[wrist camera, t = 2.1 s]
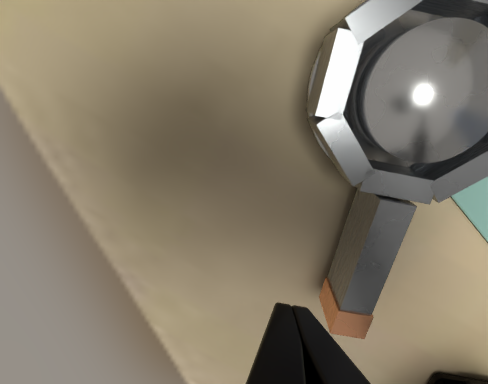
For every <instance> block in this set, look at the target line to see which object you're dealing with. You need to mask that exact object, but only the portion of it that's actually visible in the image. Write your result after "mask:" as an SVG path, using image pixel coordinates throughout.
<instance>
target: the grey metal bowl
mask: <svg viewBox="0 0 488 384" xmlns="http://www.w3.org/2000/svg"><path fill="white" fill-rule="evenodd" d="M368 1H369V0H367V1H365V2H363V3H362V4H360V5H359V6H358V7H356V8H355V9H354V10H353V11H351V12H350V13H349V14H348V15H347V16H349V15H350V14H351V13H353V12H354V11H356V10H357V9H358V8H360V7H361V6H363V5H364V4H365V3H367V2H368ZM347 16H345V17H344V18H346V17H347ZM344 18H343V19H344ZM343 19H342V20H343ZM321 48H322V47H321ZM320 52H321V49H320V50H319V53H318V55H317V57H316V59H315V62H314V64H313V68H312V71H311V74H310V78H309V84H308V92H307V104H308V100H309V96H310V92H311V88H312V84H313V80H314V76H315V72H316V68H317V64H318V60H319V56H320ZM312 115H313V114H311V113H309V112H308V116H309V117H310V116H312ZM343 116H344V118H345V120H346V122H347V123H348V125H349V127H350V129H351V131H352V132H353V134H354V136H355V138H356V139H357V141H358V143H359V145H360V147H361V148H362V150H363V152H364V154H365V156H366V157H367V159H370V160H375V161H380V162H385V163H390V164H395V165H401V166H406V167H409V166H411V165H412V164H414V163H433V162H439V161H443V160H446V159H449V158H452V157H454V156H456V155H458V154H460V153H462V152H464V151H466V150H467V149H469V148H470V147H472V146H473V145H474V144H476V143H477V142H478V141H479V140H480V139H481V138H482V137H483V136H484V135H485V134H486V133H487V132H488V28H487V27H486V26H484V25H482V24H480V23H478V22H476V21H473V20H470V19H465V18H458V17H455V18H448V17H443V16H439V15H434V14H429V13H425V12H420V11H415V10H411V9H410V10H408V11H407V12H405V13H404V14H402V15H401V16H399V17H398V18H397V19H395V20H394V21H392V22H391V23H389V24H388V25H386V26H385V27H384V28H382V29H381V30H379V31H378V32H376V33H375V34H373V35H372V36H371V37H369V38H368V39H366V40H365V41H364V43H363V47H362V50H361V54H360V57H359V61H358V64H357V67H356V71H355V74H354V78H353V81H352V84H351V88H350V91H349V95H348V98H347V101H346V105H345V108H344V112H343ZM311 128H312V126H311ZM312 131H313V134H314V136H315V138H316V140H317V142H318V144H319V146H320V147H321V148H322V150H323V151H324V153H325V154H326V155H327V156H328V157H329V158H330V156H329V155H328V153H327V151H326V150H325V148H324V146H323V145H322V143H321V141H320V140H319V138H318V136H317V135H316V133H315V131H314V130H313V128H312ZM330 159H331V158H330Z"/></svg>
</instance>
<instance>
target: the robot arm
mask: <svg viewBox="0 0 488 384" xmlns="http://www.w3.org/2000/svg"><path fill="white" fill-rule="evenodd" d="M246 384H371V383H370V382H369V381H368V380H367V379H366V377H365V376H364V375H363V374H362V373H361V371H360V370H359V369H358V368H357V367H356V365H355V364H354V363H353V362H352V361H351V359H350V358H349V357H348V356H347V355H346V353H345V352H344V351H343V350H342V349H341V347H340V346H339V345H338V344H337V343H336V341H335V340H334V339H333V338H332V337H331V336H330V334H329V333H328V332H327V331H326V330H325V328H324V327H323V326H322V325H321V324H320V322H319V321H318V320H317V319H316V318H315V316H314V315H313V314H312V313H311V312H310V310H309V309H308V308H306V307H301V306H295V305H293V306H290V305H289V304H284V303H276V304H275V306H274V309H273V311H272V314H271V317H270V319H269V322H268V325H267V328H266V330H265V333H264V336H263V338H262V341H261V344H260V347H259V349H258V352H257V355H256V357H255V360H254V363H253V365H252V368H251V371H250V374H249V376H248V379H247V382H246ZM429 384H488V381H483V380H477V379H471V378H465V377H459V376H453V375H447V374H441V373H438V374H435V375H434V376H433V377H432V378H431V380H430V382H429Z"/></svg>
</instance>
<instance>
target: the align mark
mask: <svg viewBox="0 0 488 384" xmlns="http://www.w3.org/2000/svg"><path fill="white" fill-rule="evenodd" d="M451 197H452V199H453V200H454V201H455V202H456V204H457V205H458V206H459V207H460V209H461V210H462V211H463V212H464V214H465V215H466V216H467V217H468V219H469V220H470V221H471V222H472V224H473V225H474V226H475V227H476V229H477V230H478V231H479V232H480V234H481V235H482V236H483V237H484V239H485V240H486V241H487V242H488V177H486V178H484V179H482V180H480V181H478V182H477V183H475V184H473V185H471V186H469V187H467V188H465V189H464V190H462V191H460V192H458V193H456V194H454V195H452V196H451Z"/></svg>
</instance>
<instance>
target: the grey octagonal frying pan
mask: <svg viewBox="0 0 488 384" xmlns="http://www.w3.org/2000/svg"><path fill="white" fill-rule="evenodd" d="M410 9H411V10H415V11H420V12H425V13H429V14H434V15H439V16H443V17H448V18H455V17H458V18H465V19H470V20H473V21H476V22H478V23H480V24H482V25H484V26H486V27H487V28H488V0H369V1H368V2H367V3H365V4H364V5H363V6H361V7H360V8H358V9H357V10H356V11H354V12H353V13H351V14H350V15H349V16H347V17H346V18H344V19H343V20H342V21H340V22H339V23H338V24H336V25H335V26H333V27H332V28H331V29H330V31H331V33H330V34H328V35H327V36H325V37H324V40H323V44H322V48H321V52H320V56H319V60H318V64H317V68H316V72H315V76H314V80H313V84H312V88H311V92H310V96H309V100H308V104H307V108H306V111H307V112H309V113H311V114H313V115H312V116H310V117H309V118H307V120H308V121H309V123H310V125H311V126H312V128H313V130H314V131H315V133H316V135H317V136H318V138H319V140H320V141H321V143H322V145H323V146H324V148H325V150H326V151H327V153H328V155H329V156H330V158H331V160H332V161H333V163H334V165H335V166H336V168H337V170H338V171H339V173H340V174H341V175H342V176H343V177H344V178H345V179H346V180H347V181H348V182H349V183H350V184H351V185H352V186H355V187H356V188H357V191H356V194H355V197H354V200H353V203H352V205H351V208H350V211H349V214H348V217H347V220H346V223H345V226H344V229H343V232H342V235H341V238H340V241H339V244H338V247H337V250H336V253H335V256H334V259H333V262H332V265H331V268H330V271H329V274H328V277H326V278H325V281H324V284H323V287H322V290H321V293H320V296H319V298H320V302H321V305H322V308H323V311H324V314H325V318H326V321H327V324H328V327H329V330H330V333H332V334H338V335H343V336H349V337H355V338H361V339H365V336H366V334H367V332H368V329H369V327H370V324H371V322H372V320H373V315H372V312H373V310H374V308H375V305H376V303H377V300H378V298H379V296H380V293H381V291H382V289H383V286H384V284H385V281H386V279H387V277H388V274H389V272H390V269H391V267H392V265H393V262H394V260H395V258H396V255H397V253H398V250H399V248H400V246H401V243H402V241H403V238H404V236H405V234H406V231H407V229H408V226H409V224H410V222H411V219H412V217H413V215H414V212H415V210H416V206H415V205H414V204H412V203H411V202H410V201H415V202H420V203H425V204H430V203H431V200H432V199H433V200H435V201H437V202H438V203H439V202H441V201H443V200H445V199H447V198H449V197H450V196H452V195H454V194H456V193H458V192H460V191H462V190H464V189H465V188H467V187H469V186H471V185H473V184H475V183H477V182H478V181H480V180H482V179H484V178H486V177H488V132H487V133H486V134H485V135H484V136H483V137H482V138H481V139H480V140H479V141H478V142H477V143H476V144H474V145H473V146H472V147H470V148H469V149H467V150H466V151H464V152H462V153H460V154H458V155H456V156H454V157H452V158H449V159H446V160H443V161H439V162H433V163H414V164H412V165H411V166H409V167H406V166H401V165H395V164H390V163H385V162H380V161H375V160H370V159H367V157H366V156H365V154H364V152H363V150H362V148H361V147H360V145H359V143H358V141H357V139H356V138H355V136H354V134H353V132H352V131H351V129H350V127H349V125H348V123H347V122H346V120H345V118H344V116H343V112H344V108H345V105H346V101H347V98H348V95H349V91H350V88H351V84H352V81H353V78H354V74H355V71H356V67H357V64H358V61H359V57H360V54H361V50H362V47H363V43H364V41H365V40H366V39H368V38H369V37H371V36H372V35H373V34H375V33H376V32H378V31H379V30H381V29H382V28H384V27H385V26H386V25H388V24H389V23H391V22H392V21H394V20H395V19H397V18H398V17H399V16H401V15H402V14H404V13H405V12H407V11H408V10H410ZM408 200H409V201H408Z"/></svg>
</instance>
